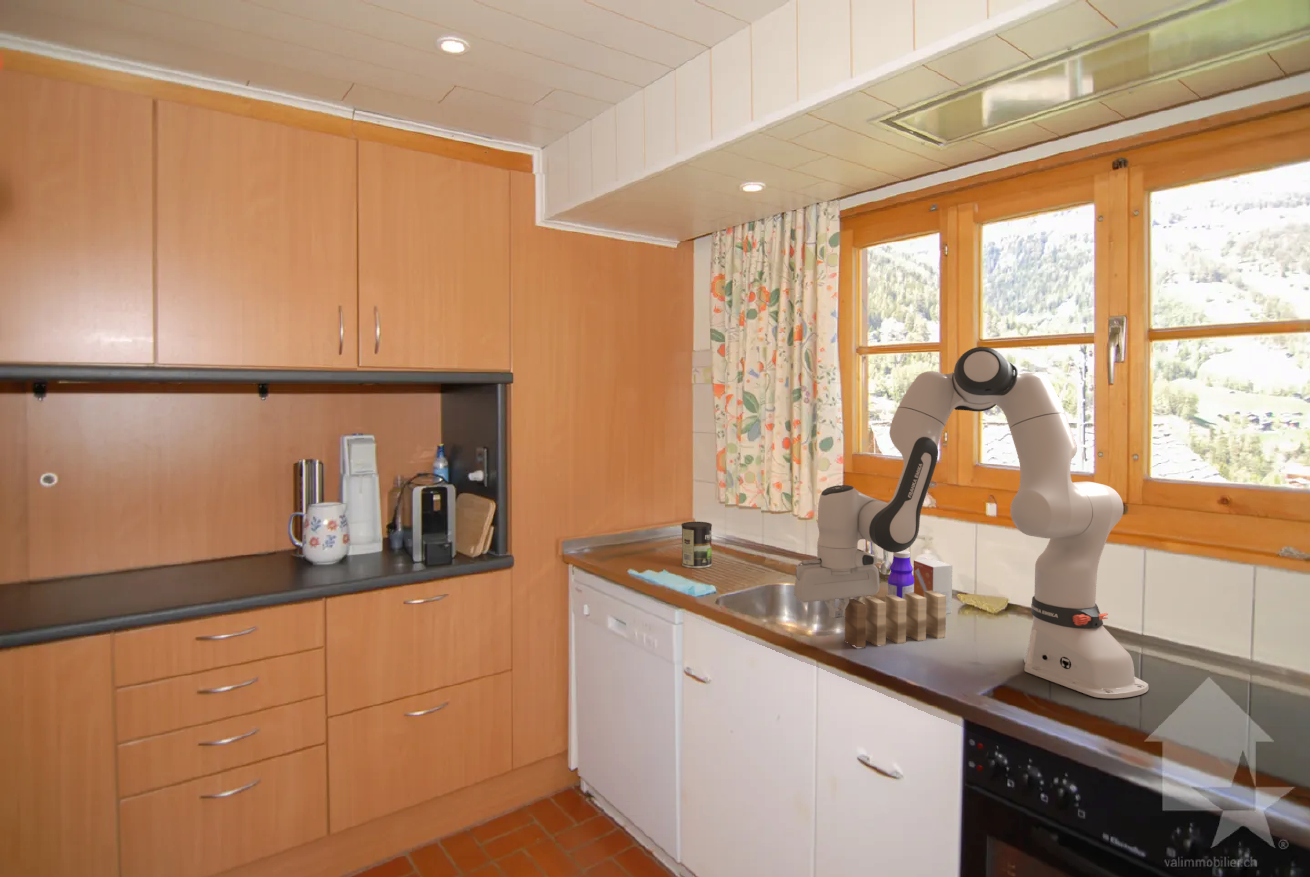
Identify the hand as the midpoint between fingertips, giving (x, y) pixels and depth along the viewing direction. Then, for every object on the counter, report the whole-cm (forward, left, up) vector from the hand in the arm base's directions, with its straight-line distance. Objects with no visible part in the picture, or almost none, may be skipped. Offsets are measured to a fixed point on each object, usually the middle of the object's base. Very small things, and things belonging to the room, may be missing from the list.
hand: (836, 617), depth 158 cm
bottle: (+13, -27, -7) cm, 31 cm away
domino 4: (0, -21, -7) cm, 22 cm away
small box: (+16, -39, -7) cm, 43 cm away
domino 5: (0, -27, -7) cm, 28 cm away
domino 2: (0, -10, -7) cm, 12 cm away
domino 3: (0, -16, -7) cm, 17 cm away
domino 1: (0, -5, -7) cm, 9 cm away
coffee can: (+83, +4, -7) cm, 83 cm away
